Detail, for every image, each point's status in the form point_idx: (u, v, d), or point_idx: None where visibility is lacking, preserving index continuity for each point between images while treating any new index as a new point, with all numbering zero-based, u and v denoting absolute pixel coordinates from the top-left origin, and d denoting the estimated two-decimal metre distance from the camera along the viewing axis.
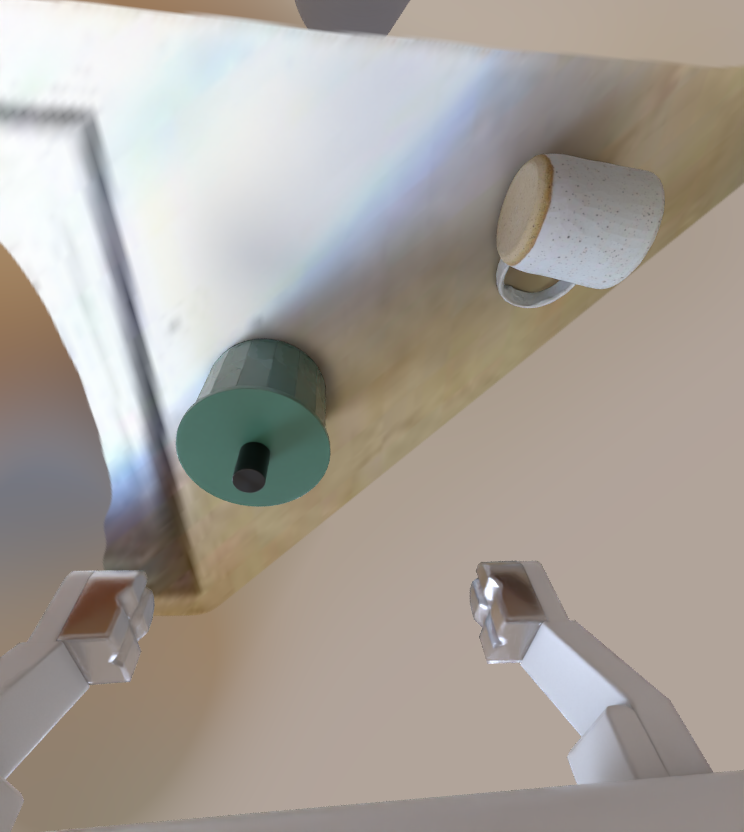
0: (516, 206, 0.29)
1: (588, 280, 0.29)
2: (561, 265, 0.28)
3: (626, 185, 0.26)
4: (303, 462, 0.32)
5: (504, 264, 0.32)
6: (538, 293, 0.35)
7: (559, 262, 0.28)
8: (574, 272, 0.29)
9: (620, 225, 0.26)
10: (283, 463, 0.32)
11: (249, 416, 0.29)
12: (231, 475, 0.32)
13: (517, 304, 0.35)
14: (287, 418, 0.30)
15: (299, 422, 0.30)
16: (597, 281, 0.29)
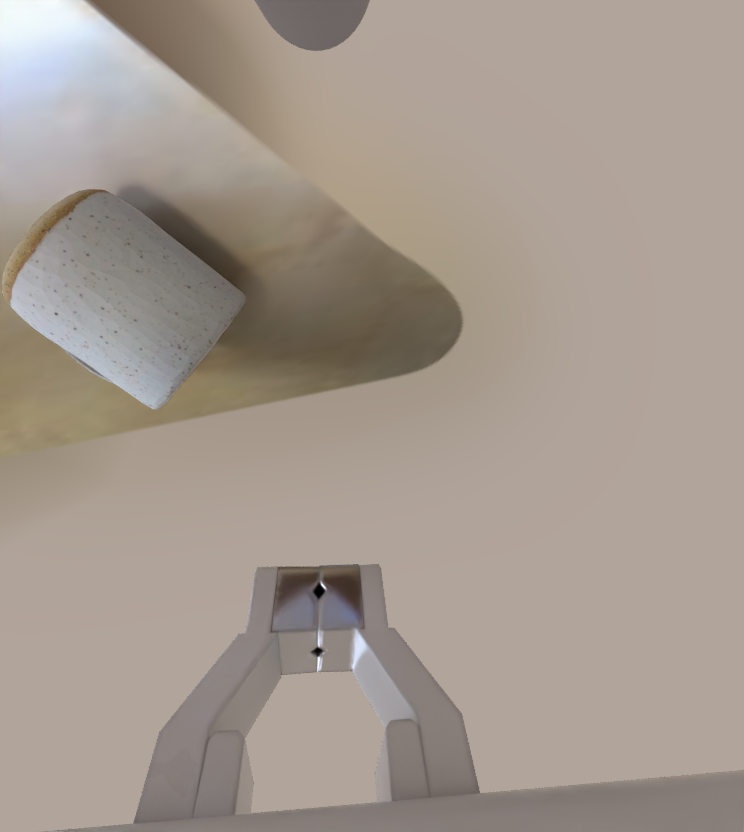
0: None
1: (118, 385, 0.21)
2: (63, 346, 0.19)
3: (168, 296, 0.18)
4: None
5: None
6: None
7: (58, 341, 0.19)
8: (90, 365, 0.20)
9: (135, 339, 0.18)
10: None
11: None
12: None
13: (85, 366, 0.25)
14: None
15: None
16: None
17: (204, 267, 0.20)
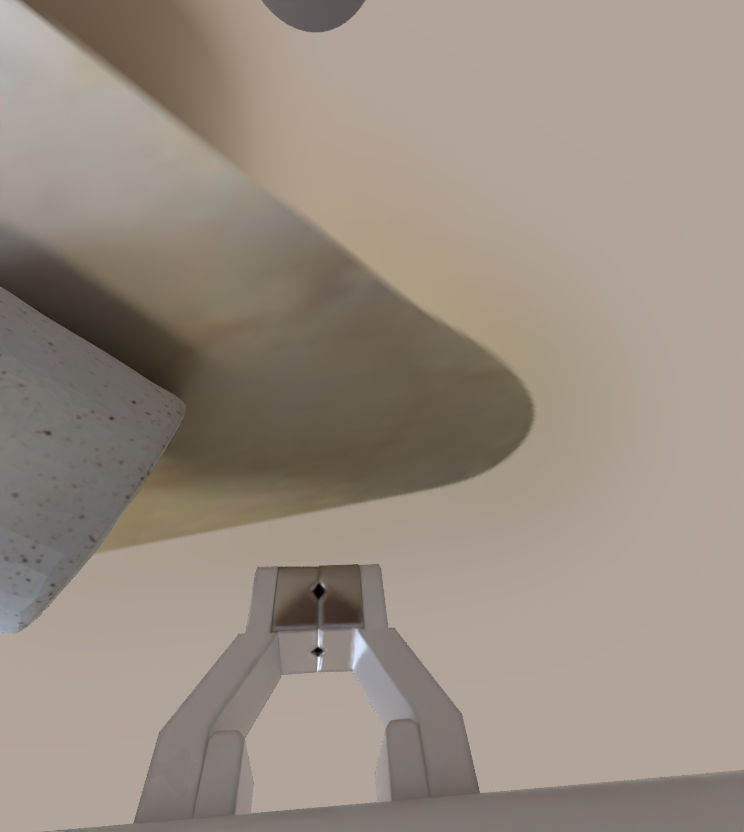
0: None
1: None
2: None
3: None
4: None
5: None
6: None
7: None
8: None
9: None
10: None
11: None
12: None
13: None
14: None
15: None
16: None
17: (95, 376, 0.11)
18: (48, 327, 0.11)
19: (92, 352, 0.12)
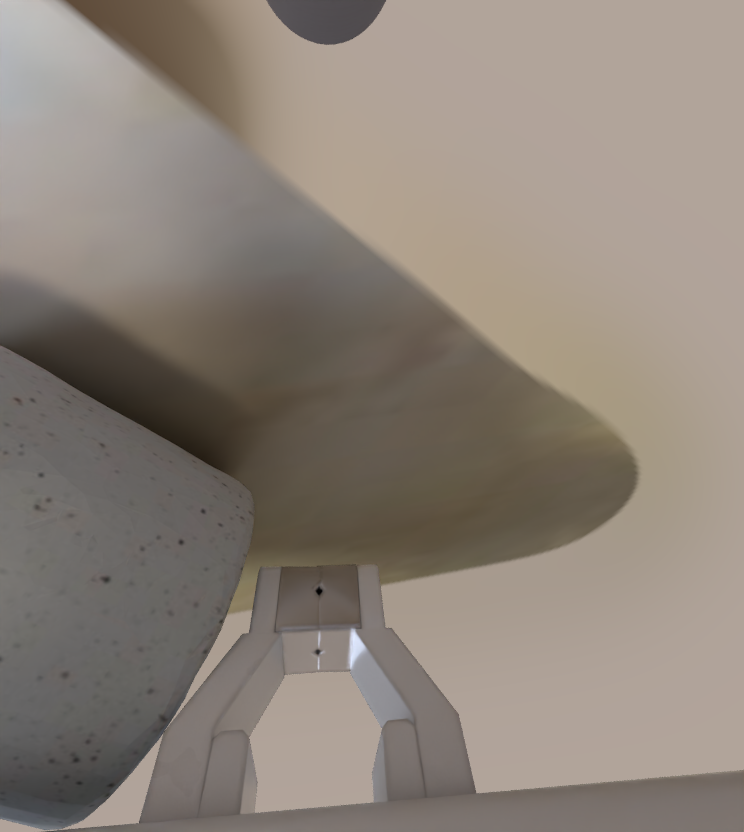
0: None
1: None
2: None
3: (41, 631, 0.06)
4: None
5: None
6: None
7: None
8: None
9: None
10: None
11: None
12: None
13: None
14: None
15: None
16: None
17: (157, 482, 0.09)
18: (96, 418, 0.09)
19: (148, 445, 0.09)
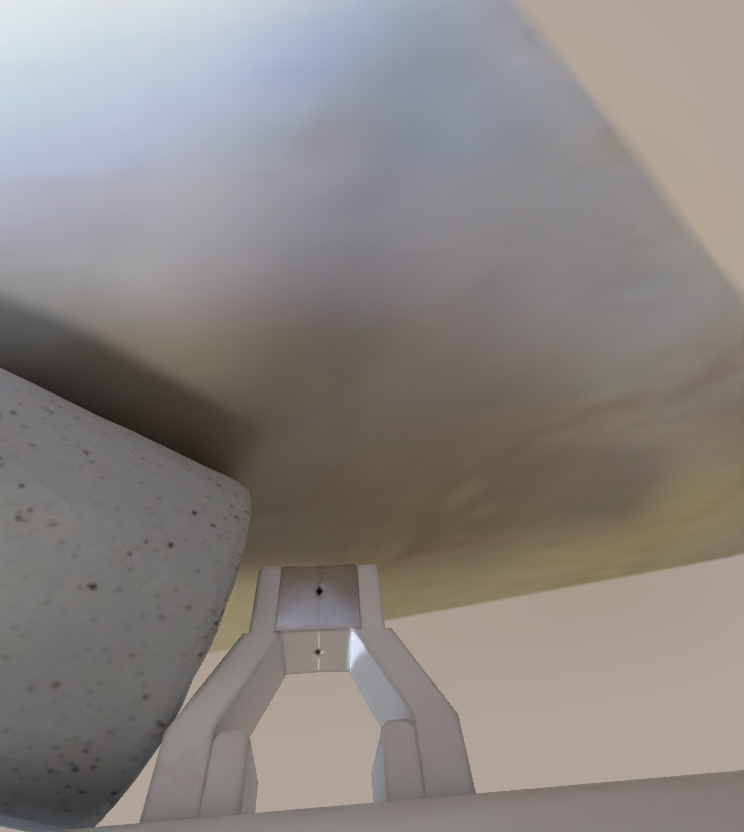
0: None
1: None
2: None
3: (28, 641, 0.06)
4: None
5: None
6: None
7: None
8: None
9: None
10: None
11: None
12: None
13: None
14: None
15: None
16: None
17: (145, 486, 0.08)
18: (81, 427, 0.09)
19: (137, 449, 0.09)
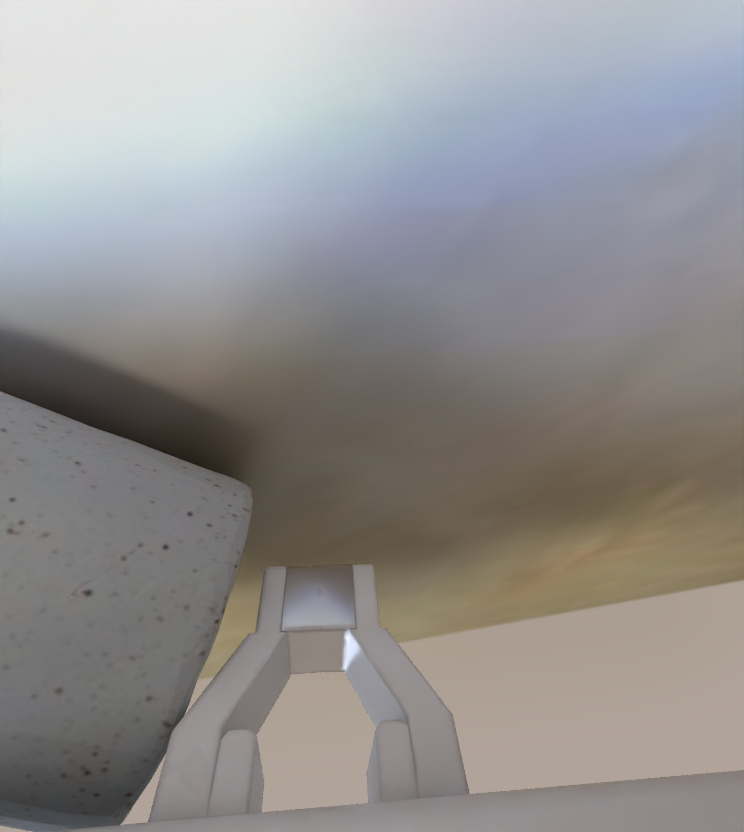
0: None
1: None
2: None
3: (28, 650, 0.07)
4: None
5: None
6: None
7: None
8: None
9: None
10: None
11: None
12: None
13: None
14: None
15: None
16: None
17: (138, 491, 0.09)
18: (74, 439, 0.09)
19: (131, 457, 0.09)
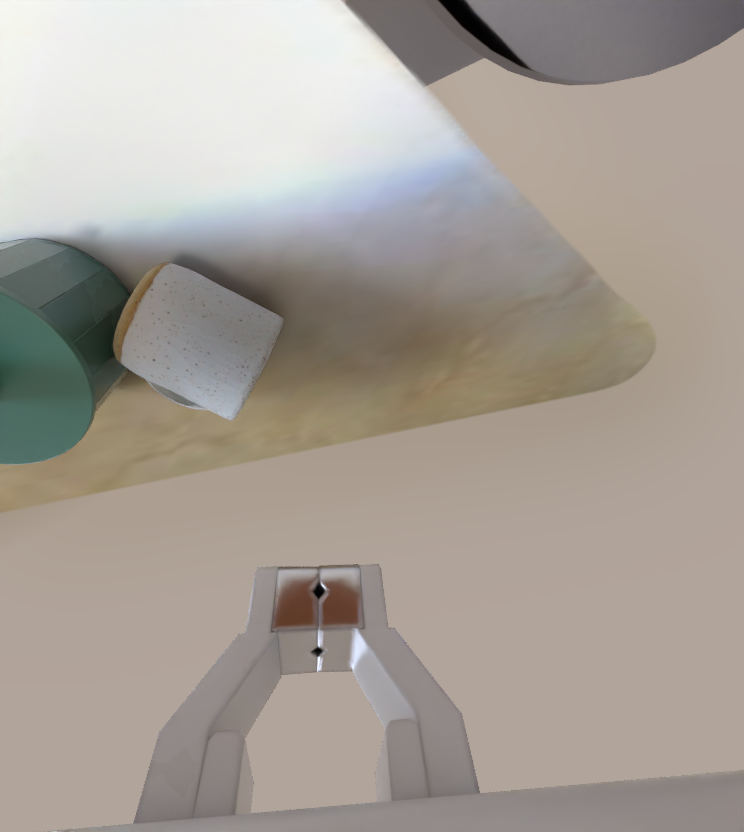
0: None
1: (202, 406, 0.27)
2: (160, 383, 0.25)
3: (228, 330, 0.24)
4: (42, 425, 0.23)
5: None
6: None
7: (157, 380, 0.25)
8: (181, 394, 0.26)
9: (210, 367, 0.24)
10: (11, 413, 0.23)
11: None
12: None
13: (172, 399, 0.32)
14: (46, 361, 0.21)
15: (61, 374, 0.22)
16: (210, 410, 0.27)
17: (248, 303, 0.26)
18: (225, 288, 0.27)
19: None
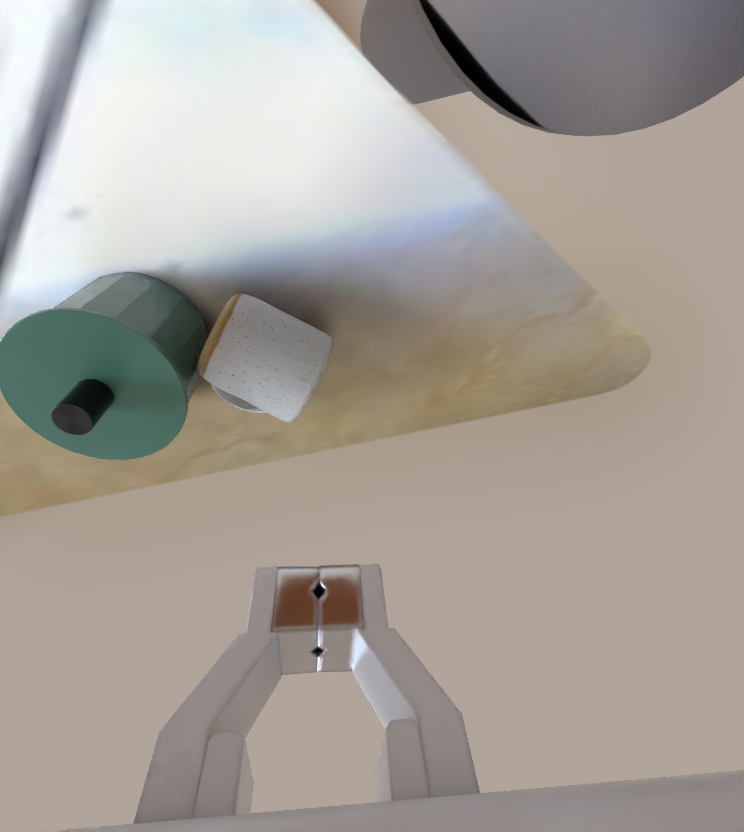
0: None
1: (265, 411, 0.33)
2: (234, 393, 0.31)
3: (292, 350, 0.29)
4: (144, 428, 0.29)
5: None
6: None
7: (232, 391, 0.31)
8: (249, 402, 0.32)
9: (278, 381, 0.29)
10: (121, 419, 0.28)
11: (112, 355, 0.26)
12: (52, 402, 0.27)
13: (233, 404, 0.37)
14: (154, 378, 0.27)
15: (164, 388, 0.27)
16: (272, 414, 0.33)
17: (305, 325, 0.31)
18: (285, 313, 0.32)
19: None
